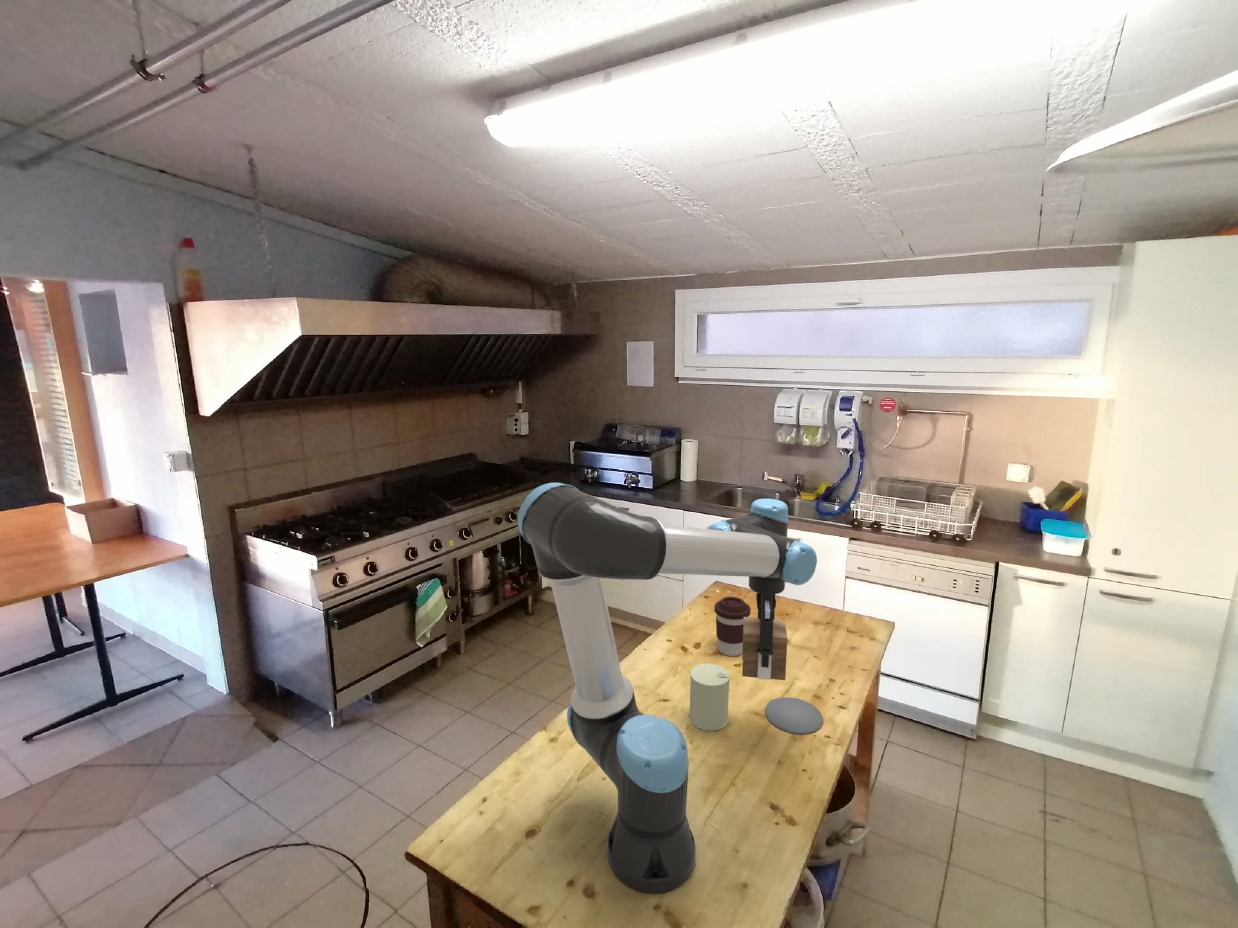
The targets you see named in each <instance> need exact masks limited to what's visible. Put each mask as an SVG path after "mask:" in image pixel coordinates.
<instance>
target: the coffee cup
mask: <svg viewBox="0 0 1238 928" xmlns="http://www.w3.org/2000/svg"><path fill="white" fill-rule="evenodd" d="M714 613H715V614H716V616H715V625H716V627H715V631H716V639H717V650H718V652H720V653H721V654H723V655H725V656H727V657H738V656H740V655H742V650H743V620H744V617H750V616H751V606H750V605H749V604H748V603H746V602H745V600H743V599H742V598H740V597H737V596H726V597H723V598H721V599H720V600H718V601H717V602H716V603H715V604H714Z"/></svg>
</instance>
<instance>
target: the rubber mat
mask: <svg viewBox="0 0 1238 928" xmlns="http://www.w3.org/2000/svg"><path fill="white" fill-rule="evenodd" d="M764 714H765V716H766V719H767V721H768V722H769V723H771V725H773V726H774V727H775V728H777V729H779V730H781V731H784V732H787V733H790V734H795V735H810V734H812V733H816V732H817V731H819V730H820V729H821V728H822V726H823V721H824V719H823V715H822V713H821V712H820V710H819V709H818V708H817V707H816V706H815V705H813V703H812V704H811V703H809V702H808V701H805V700H803V699H799V698H797V697H796V698H795V697H789V696H788V697H778V698H774V699H772V700H770V701H769V702H768V703H767V704H766V705H765V712H764Z"/></svg>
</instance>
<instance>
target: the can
mask: <svg viewBox="0 0 1238 928" xmlns="http://www.w3.org/2000/svg"><path fill="white" fill-rule="evenodd" d="M689 674H690V677H689V678H690V683H689V684H690V685H689V713H688V719H689V721H690V723H691V724H692V725H693V726H694V727H696V728H698V729H700V730H703V731H708V732H710V731H711V732H714V731H718V730H719V731H720V730H722V729H724V728H725V727H726V726H727V725H728V724H729V700H730V699H729V697H730V696H729V695H730V680H731V675H730V674H731V673H730V672H729V670H727V669H726V668H725V667H723V666H721V665H719V664H715V663H700V664H697V665H695V666H693V667H692V668H691V669H690V671H689Z"/></svg>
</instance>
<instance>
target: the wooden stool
mask: <svg viewBox="0 0 1238 928" xmlns="http://www.w3.org/2000/svg"><path fill="white" fill-rule="evenodd" d="M759 648H760V619H759V618H758V617H750V616H748V617H744V620H743V650H742V654H741V656H742V657H741V659H742V674H741V675H742V677H746V678H757V679H758V677H757V676H758V652H756V649H759ZM772 651H773V654H772V659H771V680H775V681H777V680H778V681H786V675H787V674H786V673H787V672H786V671H787V657H788V656H787V655H788V632H787V627H786V619H779V618H778V619H775V618H774V620H773V644H772Z"/></svg>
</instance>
